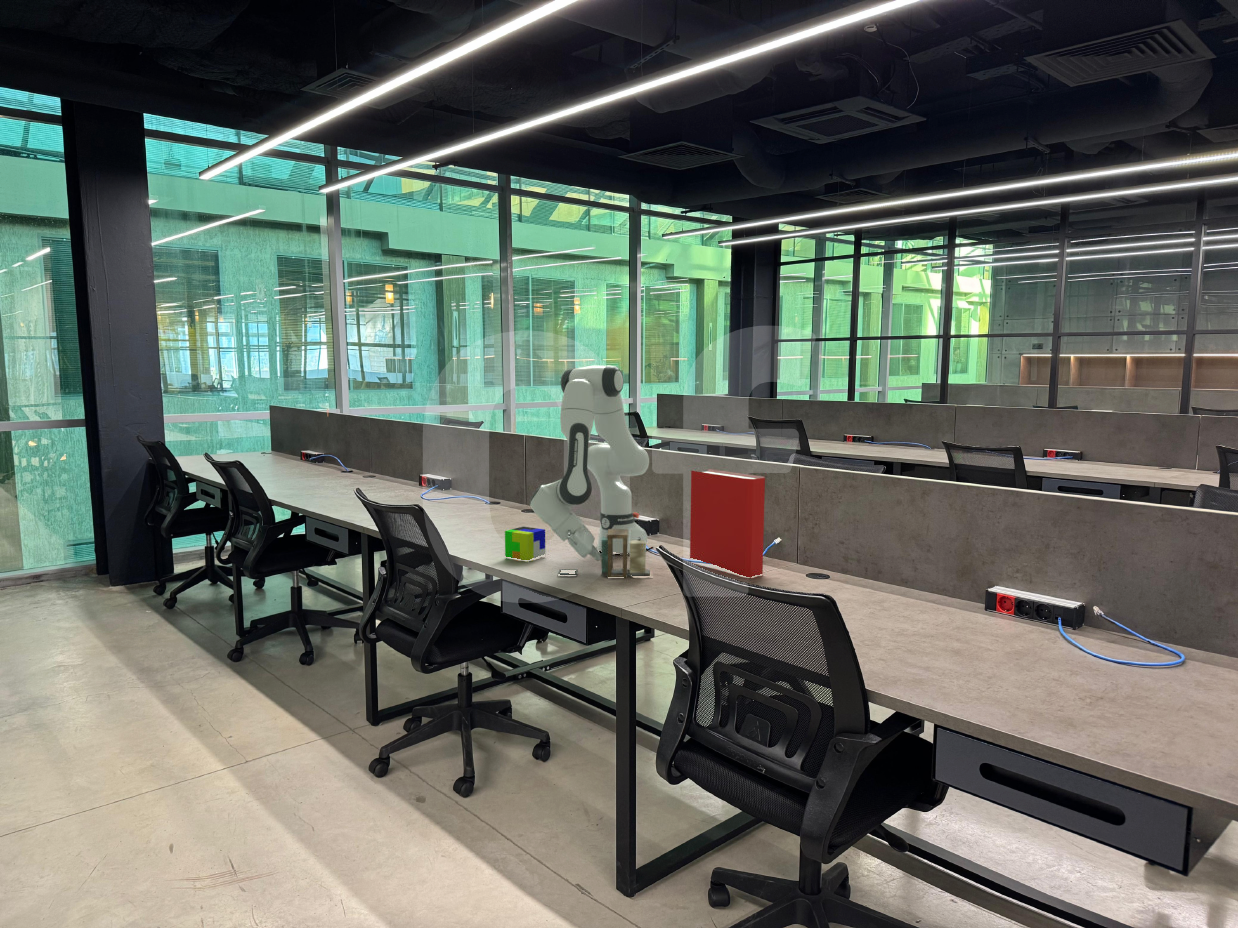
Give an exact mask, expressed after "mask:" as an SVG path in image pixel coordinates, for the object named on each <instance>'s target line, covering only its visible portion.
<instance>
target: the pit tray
mask: <svg viewBox="0 0 1238 928" xmlns="http://www.w3.org/2000/svg"><path fill="white" fill-rule="evenodd" d="M561 570H576V571H575V574H569V573H560V572H561ZM577 572H578V573H579V569H573V568H572V569H571V568H569V569H568V568H567V569H566V568H559V570H558V571H557V575H558V574H560V575H577V576H578V574H577Z"/></svg>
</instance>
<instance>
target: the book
mask: <svg viewBox="0 0 1238 928" xmlns="http://www.w3.org/2000/svg"><path fill="white" fill-rule="evenodd" d="M765 491H766V477H765V476H761V475H753V474H746V473H739V472H733V471H724V470H719V469H712V468H710V469H709V468H708V469H707V471H696V470H691V471H690V524H689V525H690V526H689V527H690V528H689V531H690V533H689V536H690V537H689V539H690V540H689V543H690V544H689V559H690V558H693V559H697V560H701V561H703V562H706V563H711V564H713V565H717V566H719V567H721V568H725V569H727V570H730V571H732V572H734V573H737V574H739V575H743V576H746V577H752V576H755V575H760V574H763V572H764V571H763V569H764V536H765V535H764V533H765V530H764V529H765V497H766V495H765V494H766V493H765Z"/></svg>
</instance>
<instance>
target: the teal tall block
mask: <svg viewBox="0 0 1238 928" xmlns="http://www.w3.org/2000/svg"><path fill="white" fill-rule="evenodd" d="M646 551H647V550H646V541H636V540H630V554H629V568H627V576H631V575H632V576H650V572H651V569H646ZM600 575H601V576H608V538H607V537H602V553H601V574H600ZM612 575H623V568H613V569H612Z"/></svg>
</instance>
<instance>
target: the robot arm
mask: <svg viewBox="0 0 1238 928" xmlns="http://www.w3.org/2000/svg"><path fill="white" fill-rule="evenodd" d="M624 382H625V381H624V375H623V372H622V371H621V369H619V367H618V366H616V365H610V364H609V365H608V364H607V365H596V364H595V365H589V366H580V367H572V368H567V369H566V370H564V372H563V373H562V375H561V377H560V389H561V391H562V393H563V396H562V401H561V404H560V405H561V407H560V417H559V418H560V420H559V421H560V431H561V433H562V434H563V436H564V437H565V439H566V441H567V447H568V449H567V463H566V465H567V466H566V471H565V473H564V475H563V478H560V479H559V480H556V481H554V482H551V483H548V484H541V485H539V486H538V488H536V489H535V491H534V492H533V494H532V495H531V497H530V499H529V506H530V508H531V509H532V511H533V512H534V513H535V514H536V515H537V517H538V518H540V520H542V522H543V523H545V524H547V525H548V526H549V527H550V528H551V531H552V532H553V533H554V534H555V535H557V536H558V538H559V539H560V540H561V541H562V542H565V541H567V542H568V544H569V546H570V547H571V548H573V550H575V552H576V553H577V554H578V555H579V556H580V557H581V558H584V559H585V558H586V557H587V556H588V555H589V556H591V557H592V558H594V559H595V560H596V561H600V560H601V559H602V553H600V552H598V550H599V551H602V537H607V533H608V529H628V538H627V553H630V540H636V541H646V543H648V535H647V532H646V530H645V529H644V528H642V527H641V526H640V525H639V524H637V522H635V521H636V520H635V518H636V519H639V518H640V516H641V515H640V514H639V512H635V511H634V512H632V507H633V506H632V501H633V500H632V491H631V490H630V488H629V487H628V486H626V485H625V484H624V482H623V481H622V479H621V476H623V477H624V476H625V477H636V476H641V475H644V474H645V473H646V472H647V470H648V468H649V466H650V456H649V454H648V452H647V450H645V449H644V448H643V447H642V446H640V444H638V443H637V441H636V440H635V439H634V437H633V435H632V434H631V432H630V430H629V427H628V423H627V420H626V416H625V410H624V402H623V399H622V395H621V392H622V390H623V388H624ZM593 426H595V427H594V429H595V431H596V434H598V435H597V436H599V437H601V438H602V439H603V440H605V442H606V443H598V444H594V445H590V446H589V444H590V443H589V442H590V438H591V433H592V430H593ZM588 471H590V472H591V473H592V474H593V476H594V478H595V479H596V481H597V484H598V487H599V491H600V507H601V508H600V510H601V512H599V523H600V525H599V530H598V531H599V533H598V539H597V540H598V541H597V543H596V546H595V544H594V543H595V540H596V538H595V536H594V534H593V533H592V532H591V531H590V530H589V528H588V527H587V526H586V525H585V524H584V523H583V520H582V518H581V517H580V516H577V514H576V513H574V512H573V510H572V508H573V507H574V506H578V505H582V504H585V502H587V500H589V498H590V497H591V494H592V491H593V485H592V481H591V479H590V476H589V473H588ZM597 546H598V547H597ZM597 549H598V550H597ZM613 552H616V553H623V539H613Z"/></svg>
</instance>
